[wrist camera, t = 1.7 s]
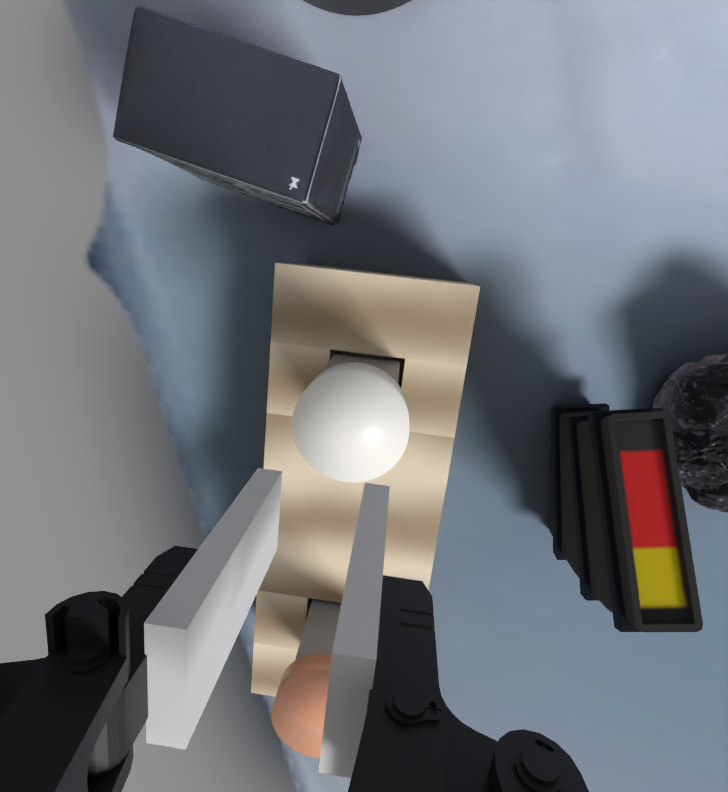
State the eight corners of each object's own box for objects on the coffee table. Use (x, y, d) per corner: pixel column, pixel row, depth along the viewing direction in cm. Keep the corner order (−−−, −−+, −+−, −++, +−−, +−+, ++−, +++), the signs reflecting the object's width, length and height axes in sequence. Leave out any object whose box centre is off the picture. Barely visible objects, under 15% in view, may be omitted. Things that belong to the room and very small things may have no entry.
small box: (366, 130, 32) (348, 68, 22) (338, 227, 34) (308, 211, 24) (217, 79, 32) (131, -7, 22) (196, 179, 34) (108, 143, 24)
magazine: (548, 579, 38) (630, 639, 23) (532, 414, 40) (595, 375, 26) (598, 578, 37) (712, 639, 23) (578, 412, 40) (669, 371, 25)
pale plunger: (323, 339, 29) (296, 363, 22) (414, 350, 29) (417, 378, 22) (316, 425, 31) (288, 474, 24) (402, 436, 30) (401, 490, 23)
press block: (300, 263, 35) (275, 262, 28) (465, 282, 34) (480, 286, 27) (275, 626, 43) (251, 692, 37) (406, 646, 43) (406, 718, 36)
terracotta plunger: (302, 588, 34) (274, 674, 27) (379, 599, 34) (372, 690, 27) (296, 651, 36) (268, 749, 28) (371, 663, 35) (361, 765, 28)
